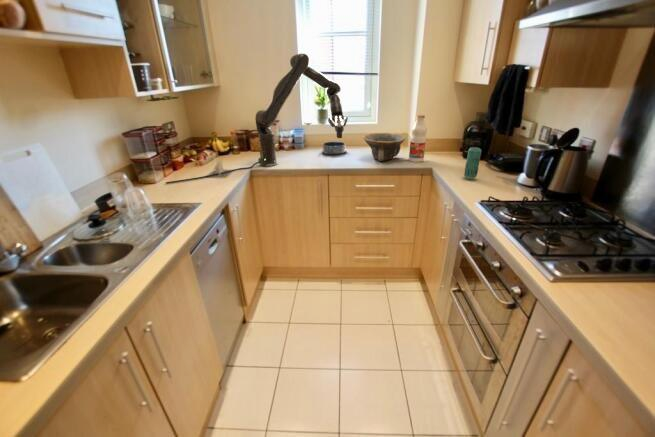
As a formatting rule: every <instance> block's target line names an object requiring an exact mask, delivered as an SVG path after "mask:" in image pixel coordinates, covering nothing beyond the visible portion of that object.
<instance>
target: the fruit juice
mask: <svg viewBox="0 0 655 437" xmlns="http://www.w3.org/2000/svg"><path fill="white" fill-rule="evenodd" d="M425 118H426V117H425V114H417V115H416V120H415V122H414V125H413V126H412V128H411V136H410V140H409V152H408V160H409V161H410V162H413V163H421V162H423V161H424V160H425V152H426V143H427V136H426V134H427V132H428V129H427V126H426V123H425Z"/></svg>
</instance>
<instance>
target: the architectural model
mask: <svg viewBox="0 0 655 437" xmlns="http://www.w3.org/2000/svg"><path fill="white" fill-rule="evenodd" d="M213 170H214V171H212V172H211V173H210V174H209V175H213V174H219V175H215V176H210V177H209V178H227V176H228V175H229V174H231V173H232V172H233V171H231V172H227V173H223V174H220V173H222V172H226V171H230V170H231V169H224V166H223V161H222V159H220V160H217V161H216V164H215V166H214V167H213Z"/></svg>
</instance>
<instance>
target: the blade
mask: <svg viewBox="0 0 655 437" xmlns="http://www.w3.org/2000/svg"><path fill="white" fill-rule="evenodd" d="M337 128H338V132H336V138H337V139H342V138H343V132H342V127H341V125H340V122H339V121H338V123H337Z"/></svg>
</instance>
